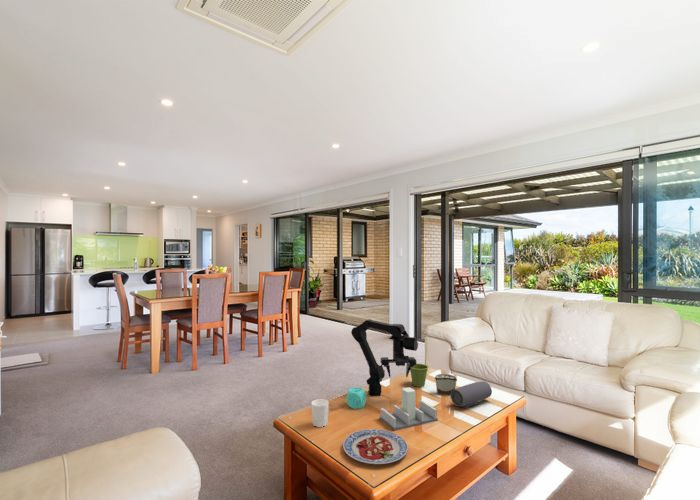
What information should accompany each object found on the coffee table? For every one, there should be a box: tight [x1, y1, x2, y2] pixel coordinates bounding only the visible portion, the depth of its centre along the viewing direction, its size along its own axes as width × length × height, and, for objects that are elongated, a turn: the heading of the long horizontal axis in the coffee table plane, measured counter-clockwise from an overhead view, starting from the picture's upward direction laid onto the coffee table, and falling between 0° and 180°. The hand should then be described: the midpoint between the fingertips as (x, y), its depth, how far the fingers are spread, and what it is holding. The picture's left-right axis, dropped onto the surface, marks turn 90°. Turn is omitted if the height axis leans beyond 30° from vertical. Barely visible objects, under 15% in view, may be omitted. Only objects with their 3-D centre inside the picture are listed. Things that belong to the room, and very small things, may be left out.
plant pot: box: [409, 363, 429, 388], centre depth 214 cm, size 12×12×11 cm
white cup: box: [311, 398, 330, 428], centre depth 164 cm, size 8×8×10 cm
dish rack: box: [379, 399, 439, 432], centre depth 169 cm, size 13×24×5 cm, turn 114°
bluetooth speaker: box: [450, 381, 493, 407], centre depth 187 cm, size 23×9×10 cm, turn 122°
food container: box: [434, 373, 458, 397], centre depth 201 cm, size 12×6×10 cm, turn 84°
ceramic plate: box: [342, 428, 409, 465], centre depth 142 cm, size 26×26×3 cm
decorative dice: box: [346, 387, 367, 410], centre depth 184 cm, size 8×8×8 cm
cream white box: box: [401, 386, 417, 420], centre depth 169 cm, size 4×5×13 cm
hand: (398, 377), depth 192 cm, fingers open, 9 cm apart
